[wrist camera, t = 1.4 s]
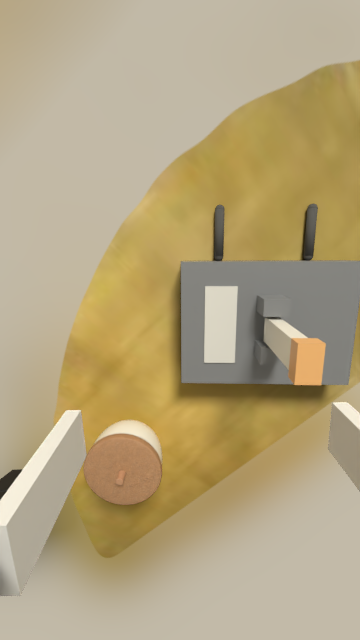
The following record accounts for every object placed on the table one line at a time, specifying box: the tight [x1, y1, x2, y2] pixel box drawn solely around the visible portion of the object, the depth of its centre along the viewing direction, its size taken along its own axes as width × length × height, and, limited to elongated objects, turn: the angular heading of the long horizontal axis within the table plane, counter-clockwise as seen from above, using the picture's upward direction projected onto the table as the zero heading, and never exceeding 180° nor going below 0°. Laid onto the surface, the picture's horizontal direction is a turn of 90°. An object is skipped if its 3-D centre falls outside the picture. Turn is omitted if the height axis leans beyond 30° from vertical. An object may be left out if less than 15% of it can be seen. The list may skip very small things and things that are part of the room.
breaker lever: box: [263, 317, 326, 385], centre depth 30 cm, size 2×4×12 cm, turn 0°
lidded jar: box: [84, 420, 162, 505], centre depth 42 cm, size 11×11×9 cm
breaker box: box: [181, 260, 360, 385], centre depth 37 cm, size 22×16×8 cm
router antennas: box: [214, 204, 318, 261], centre depth 38 cm, size 13×7×1 cm, turn 90°
